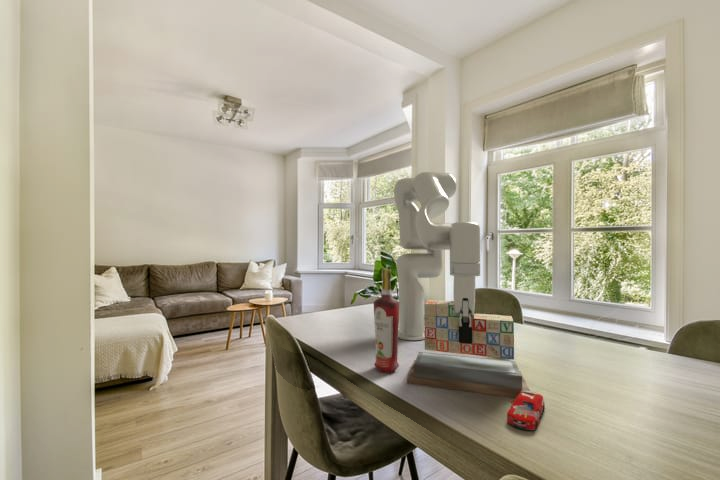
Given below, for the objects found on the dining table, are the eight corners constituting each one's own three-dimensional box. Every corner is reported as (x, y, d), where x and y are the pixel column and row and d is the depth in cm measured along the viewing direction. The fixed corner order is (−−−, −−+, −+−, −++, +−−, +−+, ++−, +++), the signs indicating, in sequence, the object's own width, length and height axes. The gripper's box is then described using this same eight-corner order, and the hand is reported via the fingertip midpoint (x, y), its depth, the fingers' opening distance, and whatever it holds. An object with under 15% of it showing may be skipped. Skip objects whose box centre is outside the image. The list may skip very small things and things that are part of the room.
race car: (534, 437, 59) (534, 415, 59) (503, 426, 63) (503, 406, 63) (548, 408, 69) (548, 390, 69) (521, 400, 73) (520, 383, 73)
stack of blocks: (512, 352, 82) (512, 304, 82) (514, 360, 76) (514, 308, 76) (428, 343, 90) (428, 298, 90) (423, 349, 84) (423, 302, 84)
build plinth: (414, 365, 94) (414, 349, 94) (520, 376, 85) (520, 359, 85) (407, 383, 81) (407, 365, 81) (530, 399, 73) (530, 378, 73)
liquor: (368, 370, 90) (368, 269, 90) (382, 362, 96) (382, 268, 96) (390, 377, 85) (390, 271, 86) (404, 368, 91) (404, 269, 91)
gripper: (450, 267, 93) (451, 329, 93) (448, 271, 77) (449, 347, 76) (478, 267, 91) (478, 331, 91) (482, 272, 74) (483, 350, 74)
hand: (465, 338), depth 83 cm, fingers closed on stack of blocks, 6 cm apart
